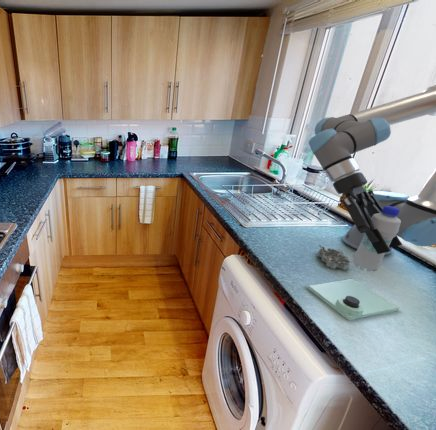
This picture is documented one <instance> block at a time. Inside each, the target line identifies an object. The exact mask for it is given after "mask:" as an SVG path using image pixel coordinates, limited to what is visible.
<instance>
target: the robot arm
mask: <svg viewBox="0 0 436 430" xmlns="http://www.w3.org/2000/svg"><path fill="white" fill-rule="evenodd" d="M425 116H431V117H432V116H436V84H434V85H432V86H428V87H427V88H426V89H424V90H423V91H422V92H419V93H416V94H413V95H409V96H406V97H403V98H400V99H395V100H392V101H388V102H386V103H382V104H379V105H375V106H372V107H368V108H366V109H362V110H359V111H355V112H352V113H349V114H345V115H342V116H337V117H334V116H327V117H324V118H322V119H320V120H319V121H318V122H317V123H316V124H315V127H314V134H315V135H313V136H312V137H311V138H310V139H309V140H308V146H309V148H310V150H311V152H312V154H313V156H315V158H316V160H317V161H318V163H319V164H320V166H321V168H322V169H323V172H324V174H325V177H327V178H328V179H329V181H330V182H331V183H332V187H333V188H334V190H335V192H336V193H337V194H338V195H342V194H344V196H345V198H344V199H341V203H342V204H343V206H344V207H345V209H346V210H347V212H348V214H349V216H350V218H351V220H352V222H353V225H352V226H351V228H349V230H347V232H346V233H345V234H344V236H343V238H342V242H344V244H345V245H347V246H348V247H350V248H351V249H354V250H356V251H357V249H358V248H359V246H360V243H361V241H362V239H363V237H364V234H365V233H366V235H367V237H368V238H369V240H370V242H371V243H372V245H373V247H374V248H375V250H376V252H377V253H378V254H381V253H385V252H386V253H385V255H384V256H386V255H390V253H391V251H392V249H393V248H394V247H395V248H396V247H399V246H403V243H402V242H401V240H400V239H402V240H403V241H405V242H407V243H410V244H413V245H415V246H417V247H431V246H433V245H436V168H435V169H434V170H433V171H432V173H431V174H430V176H429V177H428V179H427V180H426V181H425V183H424V184H423V186H422V187H421V189H420V190H419V192H418V193H417V194H416V195H415V196H412V197H411V196H409V195H406V194H404V193H399V192H392V191H383V190H372V189H370V190H366V188H365V187H364V186H365V185H367V183H368V179H367V178H366V177H365V176H364V174H363V172H361V171H360V170H361V169H360V166H359V165H358V164H357V162H356V161H355V159H354V158H353V157H352V155H353V154H355V153H359V152H361V151H363V150H366V149H369V148H372V147H373V146H374V147H375V146H376V145H378V144H380V143H382V142H385V141H387V140H388V139H389V138H390V137H391V133H392V130H391V129H392V128H391V126H393V125H396V124H399V123H403V122H407V121H410V120H413V119H418V118H420V117H425ZM385 206H393V207H396V208H398V209H399V214H398V216H397V218H398V219H400V220H401V224H400V227H399V231H398V233H397V234H396V236H395V237H394V238H393V239H392V241H391V243H390V245H389V247H388V246H387V244H386V242H385V241H384V239H383V237H382V236H381V234H380V233H379V231H378V229H375V230H374V226H373V223H372V221H371V218H372V216H373V215H374V214H377V213H381V212H382V209H383V208H384V207H385ZM399 238H400V239H399Z"/></svg>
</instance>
